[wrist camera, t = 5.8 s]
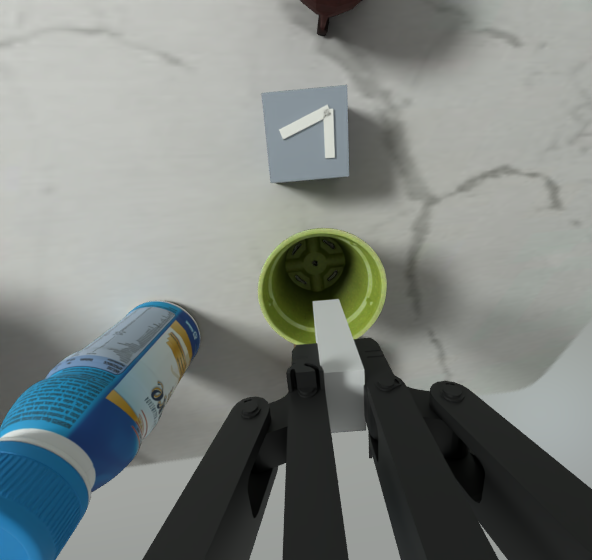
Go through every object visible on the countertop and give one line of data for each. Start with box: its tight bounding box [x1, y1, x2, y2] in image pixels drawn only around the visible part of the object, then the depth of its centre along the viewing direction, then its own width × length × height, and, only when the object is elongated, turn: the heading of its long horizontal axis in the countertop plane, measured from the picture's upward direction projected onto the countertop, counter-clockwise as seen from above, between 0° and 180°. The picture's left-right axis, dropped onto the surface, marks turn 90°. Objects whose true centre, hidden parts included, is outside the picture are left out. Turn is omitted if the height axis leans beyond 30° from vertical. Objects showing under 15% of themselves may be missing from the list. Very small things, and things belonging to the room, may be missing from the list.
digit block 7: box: [262, 85, 349, 183], centre depth 23 cm, size 6×6×5 cm
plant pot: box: [258, 228, 387, 345], centre depth 25 cm, size 9×9×9 cm
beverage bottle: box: [0, 301, 201, 560], centre depth 22 cm, size 8×8×20 cm
